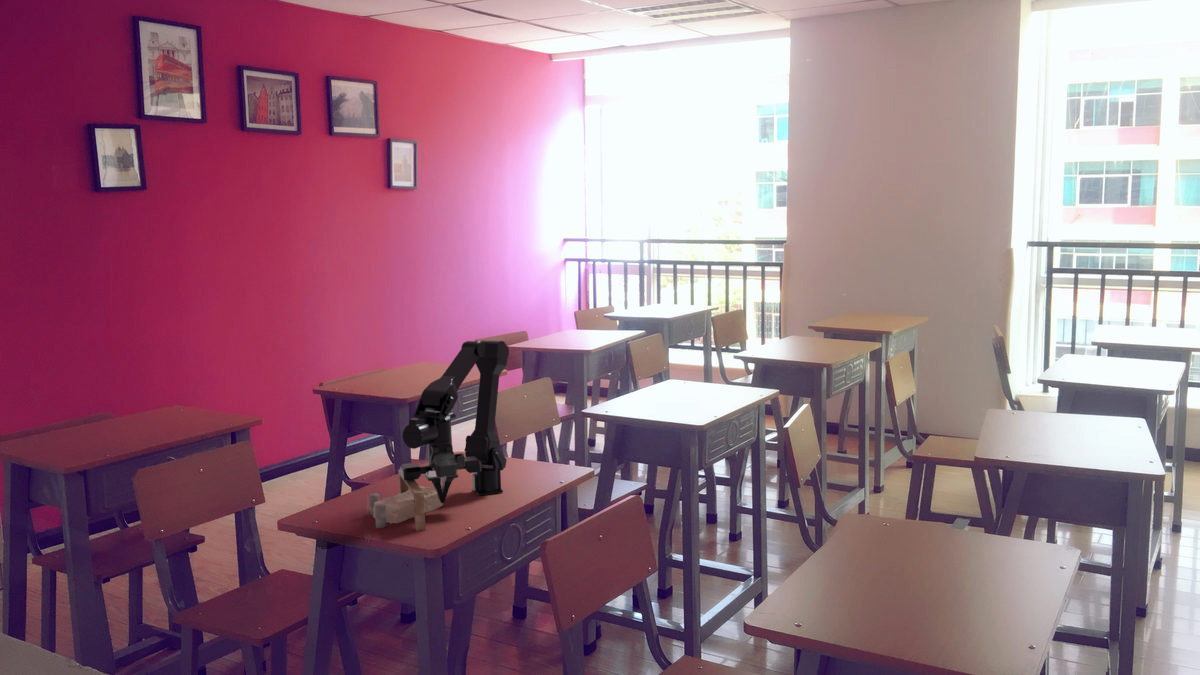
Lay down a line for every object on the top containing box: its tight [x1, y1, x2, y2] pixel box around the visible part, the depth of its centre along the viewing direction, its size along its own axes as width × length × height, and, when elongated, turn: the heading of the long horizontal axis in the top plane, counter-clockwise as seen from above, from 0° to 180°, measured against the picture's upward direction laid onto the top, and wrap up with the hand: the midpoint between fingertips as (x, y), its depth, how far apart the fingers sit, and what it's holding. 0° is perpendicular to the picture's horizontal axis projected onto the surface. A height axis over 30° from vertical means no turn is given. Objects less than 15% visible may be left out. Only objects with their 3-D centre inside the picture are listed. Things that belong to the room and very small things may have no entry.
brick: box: [372, 485, 445, 524], centre depth 226 cm, size 16×8×5 cm, turn 145°
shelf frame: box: [368, 469, 426, 532], centre depth 221 cm, size 10×23×9 cm, turn 21°
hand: (442, 502), depth 225 cm, fingers closed
